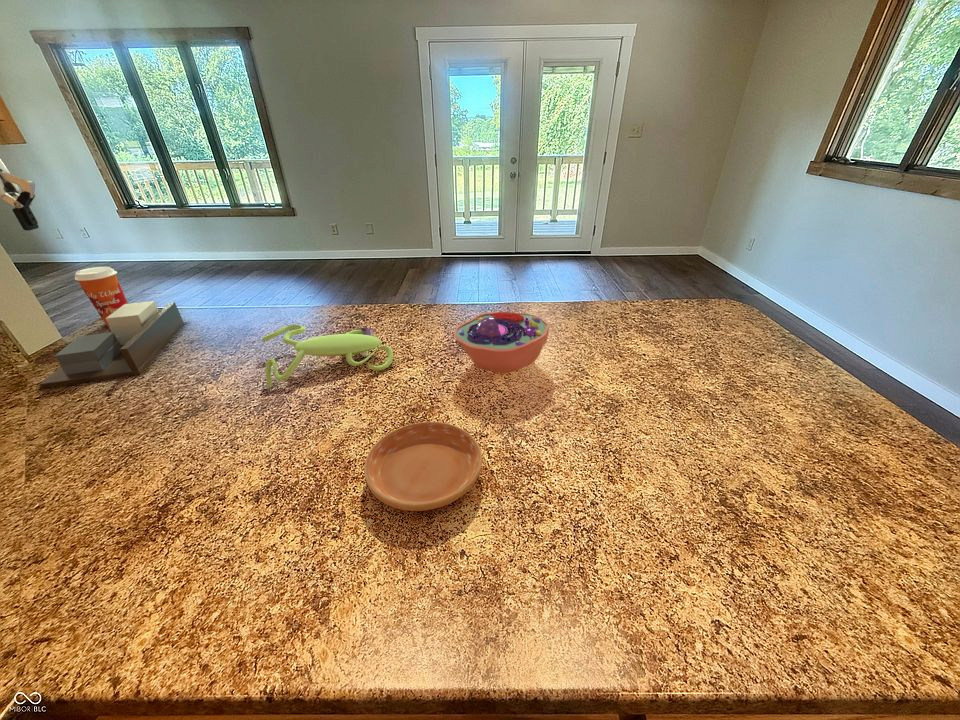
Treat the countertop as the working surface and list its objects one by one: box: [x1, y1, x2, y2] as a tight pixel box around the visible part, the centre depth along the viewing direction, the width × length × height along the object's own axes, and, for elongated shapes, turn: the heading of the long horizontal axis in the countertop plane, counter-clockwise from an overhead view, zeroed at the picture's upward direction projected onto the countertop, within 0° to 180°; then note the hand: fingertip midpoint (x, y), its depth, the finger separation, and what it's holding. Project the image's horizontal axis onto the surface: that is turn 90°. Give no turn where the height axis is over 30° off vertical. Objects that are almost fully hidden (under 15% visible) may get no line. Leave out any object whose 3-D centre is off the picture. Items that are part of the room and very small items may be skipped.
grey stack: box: [54, 332, 122, 375], centre depth 78 cm, size 6×9×4 cm
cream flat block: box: [106, 300, 159, 327], centre depth 88 cm, size 6×9×2 cm, turn 18°
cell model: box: [453, 311, 550, 374], centre depth 77 cm, size 17×20×11 cm
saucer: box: [363, 421, 483, 512], centre depth 53 cm, size 16×16×3 cm
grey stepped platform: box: [38, 301, 185, 389], centre depth 84 cm, size 16×26×6 cm, turn 18°
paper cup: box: [74, 266, 129, 328], centre depth 95 cm, size 8×8×14 cm
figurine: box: [262, 324, 394, 388], centre depth 81 cm, size 18×27×6 cm
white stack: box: [108, 309, 161, 345], centre depth 89 cm, size 6×9×4 cm
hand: (0, 230), depth 73 cm, fingers open, 9 cm apart
